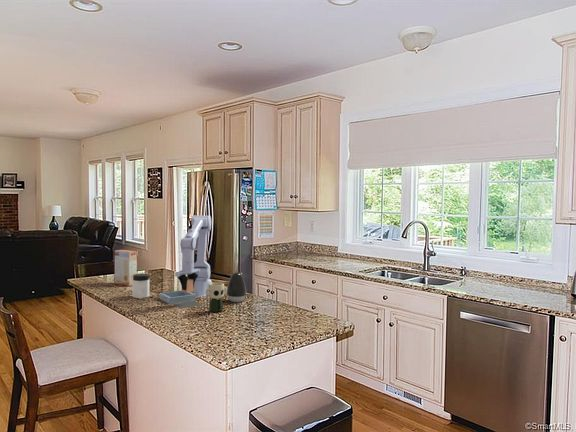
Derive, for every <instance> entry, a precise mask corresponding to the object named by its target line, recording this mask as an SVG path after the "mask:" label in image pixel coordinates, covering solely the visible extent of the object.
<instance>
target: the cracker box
mask: <svg viewBox="0 0 576 432" xmlns="http://www.w3.org/2000/svg"><path fill="white" fill-rule="evenodd" d="M137 252H138V251H137V250H129V249H117V250H114V284H115V285H120V286H126V287H132V281H133V275H134V274H138V273H137V272H138V271H137V270H138V266H137V265H138V262H137V260H138V257H137V256H138V253H137Z"/></svg>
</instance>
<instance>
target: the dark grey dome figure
mask: <svg viewBox="0 0 576 432" xmlns="http://www.w3.org/2000/svg"><path fill="white" fill-rule="evenodd" d="M226 287H227V293H226V296H227V299H228V301H230V302H232V303H241V302H243V301H244V300H245V299H246V296H247V288H246V283H245V280H244V277H243V272H238V271H237V272H234V273H232V275H231V276H230V278H229V281H228V284H227V286H226Z"/></svg>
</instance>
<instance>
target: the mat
mask: <svg viewBox="0 0 576 432" xmlns="http://www.w3.org/2000/svg"><path fill="white" fill-rule="evenodd" d="M172 305H173V306H175V308H178V309H180V310H181V309H186V308H193V307H194V308H195V307H200V306H201V307H202V306H203V304H202V303H199V302H197V301H189V302H182V303H174V304H172Z"/></svg>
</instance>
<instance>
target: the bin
mask: <svg viewBox="0 0 576 432" xmlns="http://www.w3.org/2000/svg"><path fill="white" fill-rule="evenodd" d="M158 296H159V300H161V301H163V302H165V303H167V304H168V305H173V304H177V303H185V302H192V301H195V302H197V301H196V298H197V297H196V295H195V294H194V292H188V293H186V292H181V289H180V290H172V291H163V292H159V295H158Z"/></svg>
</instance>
